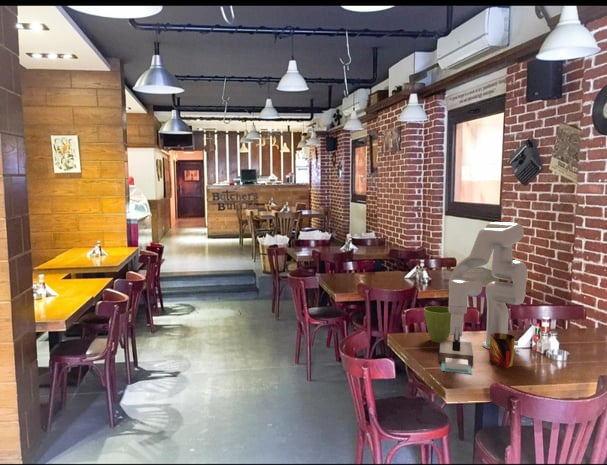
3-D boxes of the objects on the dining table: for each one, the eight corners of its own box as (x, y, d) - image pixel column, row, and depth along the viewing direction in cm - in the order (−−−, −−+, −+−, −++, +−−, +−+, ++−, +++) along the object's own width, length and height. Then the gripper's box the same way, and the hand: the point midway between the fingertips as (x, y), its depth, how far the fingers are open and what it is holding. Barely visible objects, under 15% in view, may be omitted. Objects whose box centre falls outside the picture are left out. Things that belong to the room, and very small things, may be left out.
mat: (470, 364, 214) (470, 363, 214) (471, 374, 202) (471, 373, 202) (441, 362, 217) (441, 361, 217) (441, 371, 206) (441, 370, 205)
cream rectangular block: (468, 364, 206) (468, 370, 206) (467, 359, 211) (467, 365, 211) (445, 362, 208) (445, 368, 208) (445, 357, 214) (445, 363, 214)
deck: (471, 350, 233) (471, 342, 233) (473, 364, 214) (473, 355, 214) (440, 348, 237) (440, 339, 237) (439, 361, 218) (439, 352, 217)
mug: (506, 371, 206) (508, 342, 205) (484, 360, 219) (485, 334, 219) (525, 368, 209) (526, 340, 209) (502, 358, 223) (503, 332, 222)
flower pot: (439, 347, 238) (440, 314, 237) (416, 339, 251) (417, 308, 250) (460, 342, 247) (461, 310, 245) (437, 335, 259) (438, 304, 258)
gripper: (448, 304, 223) (447, 344, 224) (448, 312, 209) (447, 354, 210) (466, 305, 221) (464, 346, 222) (467, 313, 206) (465, 356, 208)
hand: (456, 350), depth 216 cm, fingers closed
